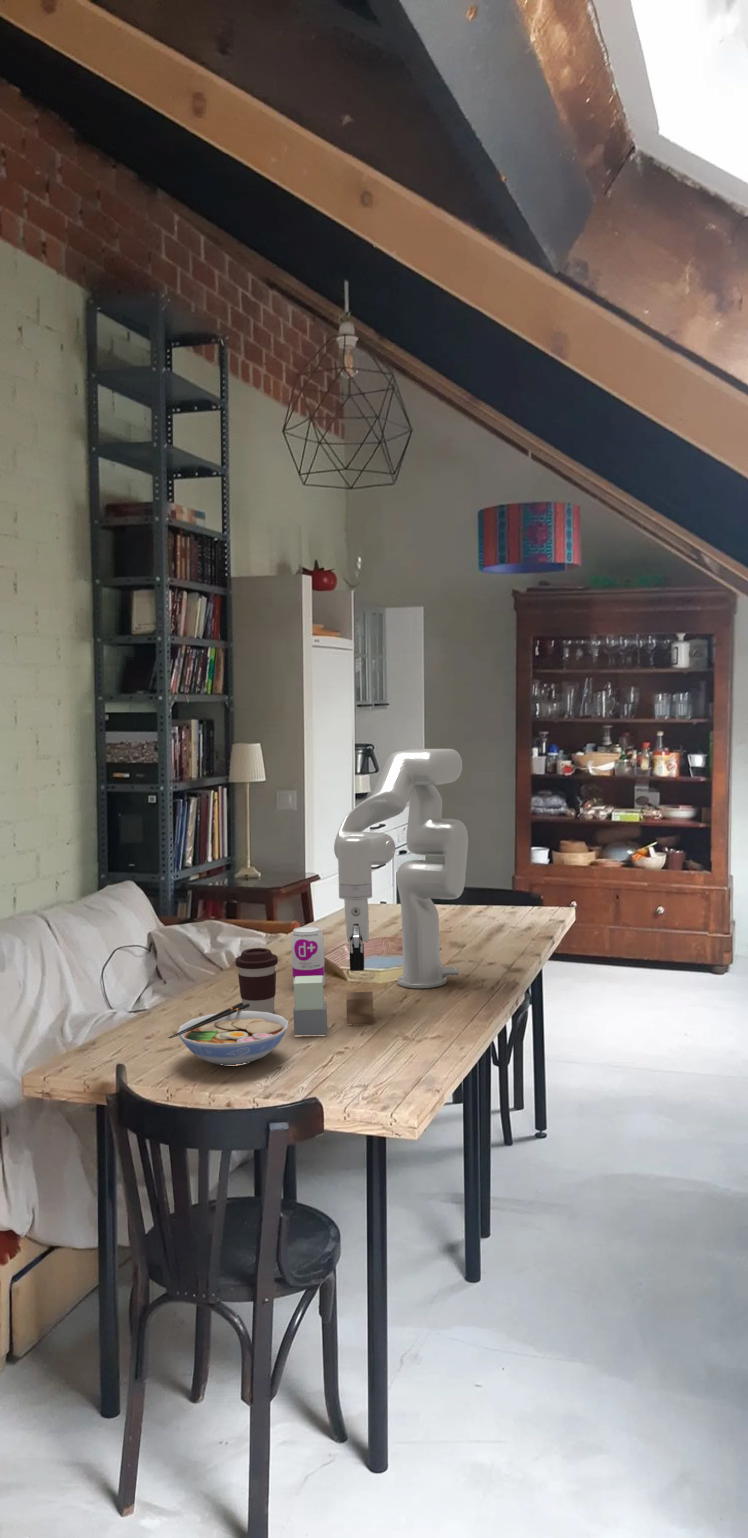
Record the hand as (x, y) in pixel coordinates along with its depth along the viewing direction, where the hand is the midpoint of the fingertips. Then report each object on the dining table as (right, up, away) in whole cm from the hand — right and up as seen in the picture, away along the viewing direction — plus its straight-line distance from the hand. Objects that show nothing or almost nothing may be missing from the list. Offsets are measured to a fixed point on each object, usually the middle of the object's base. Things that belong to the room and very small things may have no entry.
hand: (357, 965), depth 256 cm
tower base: (-10, -14, -6) cm, 18 cm away
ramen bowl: (-25, -16, -24) cm, 38 cm away
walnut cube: (+1, -13, +2) cm, 13 cm away
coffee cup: (-23, -13, +10) cm, 29 cm away
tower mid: (-10, -8, -6) cm, 14 cm away
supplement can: (-13, -11, +32) cm, 37 cm away
